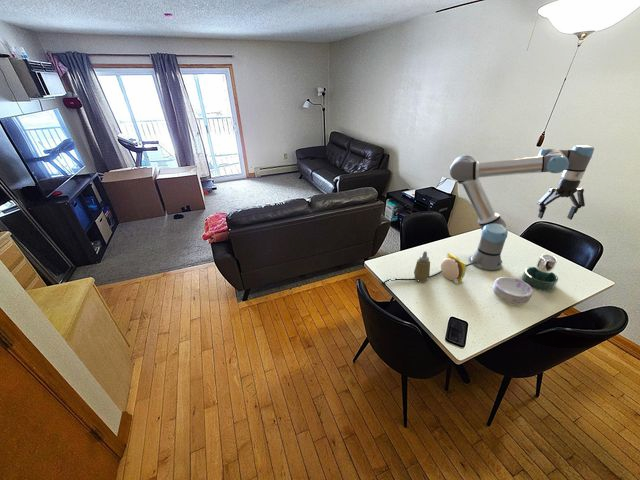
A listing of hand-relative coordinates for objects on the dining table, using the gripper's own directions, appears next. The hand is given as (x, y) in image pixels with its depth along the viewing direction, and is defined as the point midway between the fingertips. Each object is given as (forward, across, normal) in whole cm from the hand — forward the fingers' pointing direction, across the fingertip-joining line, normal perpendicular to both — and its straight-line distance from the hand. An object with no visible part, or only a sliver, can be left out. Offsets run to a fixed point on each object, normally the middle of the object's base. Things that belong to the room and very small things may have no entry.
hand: (554, 218), depth 139 cm
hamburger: (+29, -51, -21) cm, 62 cm away
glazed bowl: (+29, -8, -20) cm, 36 cm away
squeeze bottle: (+29, -67, -25) cm, 77 cm away
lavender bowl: (+29, -27, -35) cm, 53 cm away
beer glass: (+28, -8, -20) cm, 36 cm away
